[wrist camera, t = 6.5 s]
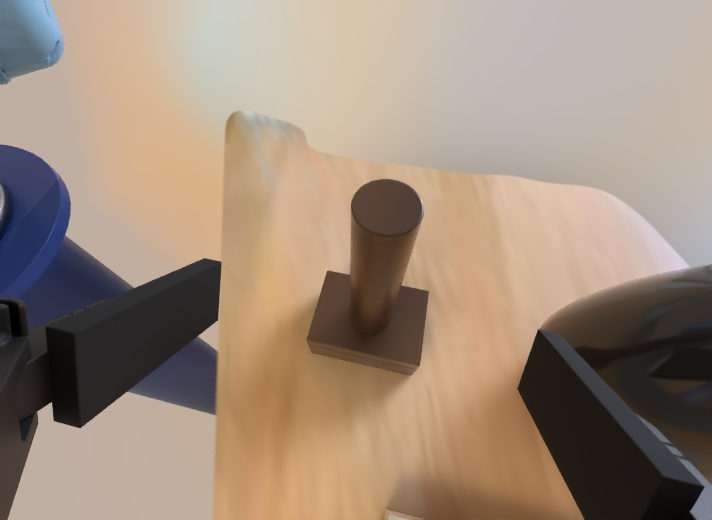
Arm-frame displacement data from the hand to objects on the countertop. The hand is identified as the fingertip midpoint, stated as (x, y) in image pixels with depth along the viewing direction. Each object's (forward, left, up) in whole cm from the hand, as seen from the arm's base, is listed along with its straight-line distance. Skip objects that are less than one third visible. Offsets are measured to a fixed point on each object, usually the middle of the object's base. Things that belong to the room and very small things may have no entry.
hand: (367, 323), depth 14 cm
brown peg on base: (0, +3, -10) cm, 11 cm away
